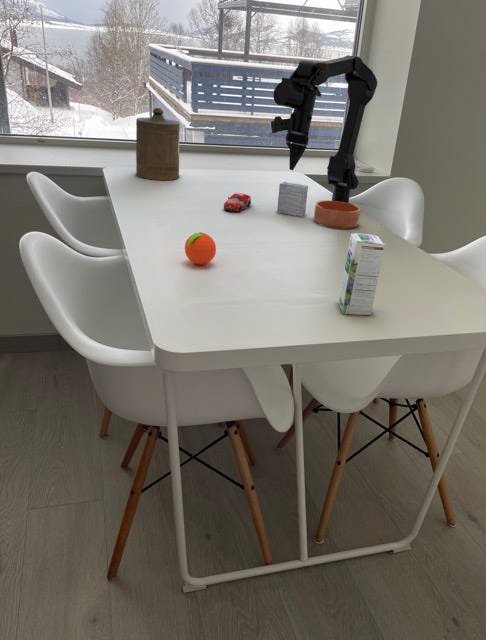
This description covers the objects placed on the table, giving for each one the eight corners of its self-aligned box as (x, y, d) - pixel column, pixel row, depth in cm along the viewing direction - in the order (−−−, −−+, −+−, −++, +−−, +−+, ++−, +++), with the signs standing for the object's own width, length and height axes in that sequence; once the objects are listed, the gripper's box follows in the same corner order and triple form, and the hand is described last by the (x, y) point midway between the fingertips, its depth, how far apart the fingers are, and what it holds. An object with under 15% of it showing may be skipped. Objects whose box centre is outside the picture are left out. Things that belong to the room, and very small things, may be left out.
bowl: (318, 214, 180) (321, 198, 178) (360, 221, 177) (363, 205, 175) (309, 224, 169) (311, 207, 166) (353, 232, 166) (356, 214, 164)
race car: (237, 214, 171) (238, 200, 169) (220, 211, 173) (221, 197, 171) (253, 205, 182) (254, 192, 180) (237, 202, 184) (238, 189, 182)
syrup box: (337, 303, 118) (349, 232, 111) (365, 304, 119) (379, 234, 111) (342, 314, 113) (355, 241, 106) (372, 316, 114) (386, 243, 107)
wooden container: (187, 177, 209) (188, 110, 198) (159, 182, 198) (159, 111, 187) (156, 169, 215) (156, 104, 204) (127, 174, 204) (125, 105, 193)
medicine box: (305, 214, 179) (308, 185, 174) (301, 217, 175) (304, 188, 171) (281, 210, 181) (283, 181, 176) (276, 213, 177) (279, 183, 172)
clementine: (199, 272, 126) (200, 240, 122) (174, 264, 129) (175, 232, 125) (221, 264, 132) (223, 233, 128) (197, 256, 135) (198, 226, 131)
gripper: (276, 106, 172) (266, 161, 178) (273, 103, 155) (262, 165, 161) (312, 114, 172) (301, 169, 179) (314, 112, 155) (301, 173, 162)
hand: (291, 168), depth 170 cm, fingers open, 9 cm apart
